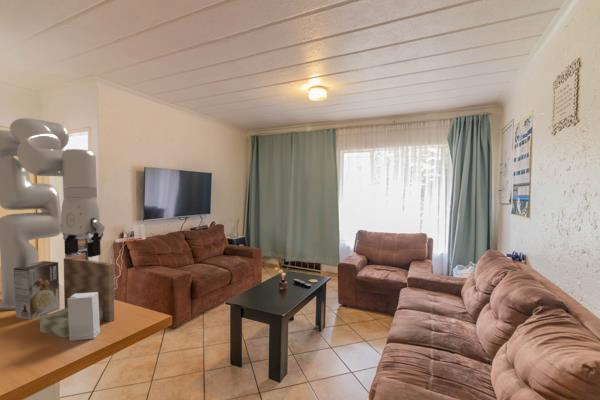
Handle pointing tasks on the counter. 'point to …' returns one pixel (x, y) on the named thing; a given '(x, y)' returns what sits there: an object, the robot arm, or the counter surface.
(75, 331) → the skincare box
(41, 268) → the coffee box
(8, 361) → the counter surface
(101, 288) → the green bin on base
